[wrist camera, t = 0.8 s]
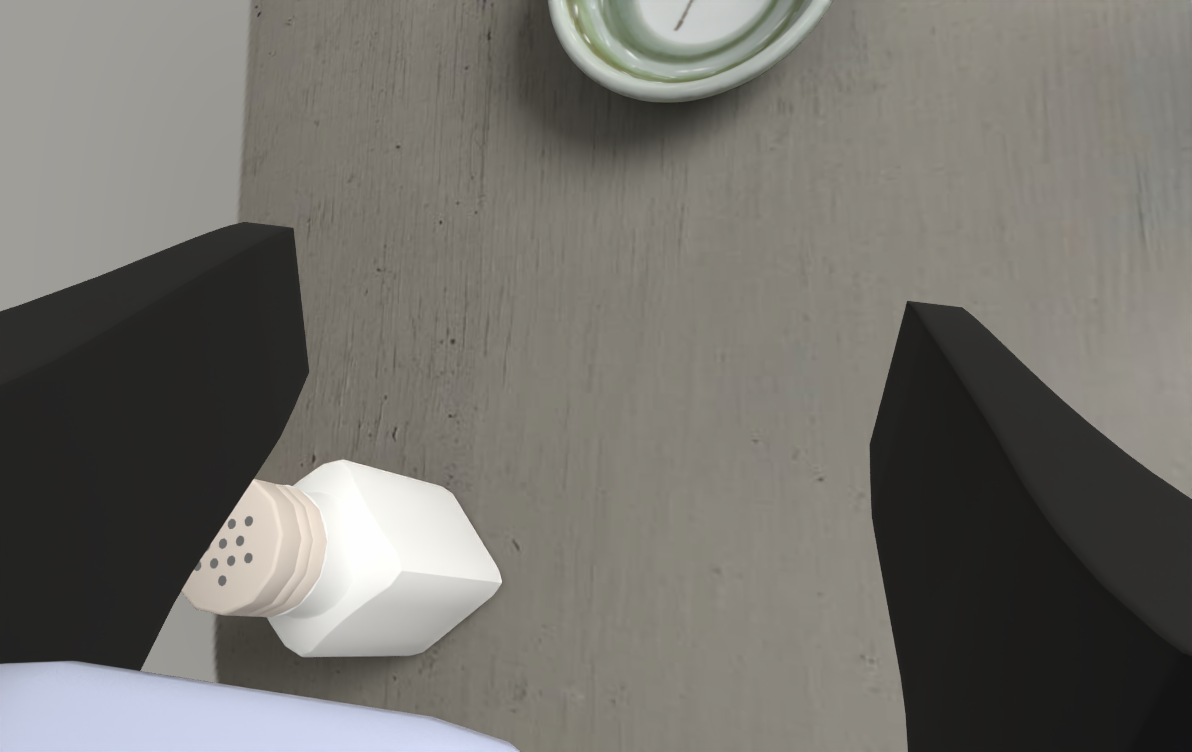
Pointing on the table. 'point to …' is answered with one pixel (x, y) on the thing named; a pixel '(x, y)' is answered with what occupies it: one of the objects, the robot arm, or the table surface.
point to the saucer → (680, 42)
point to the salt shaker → (347, 563)
